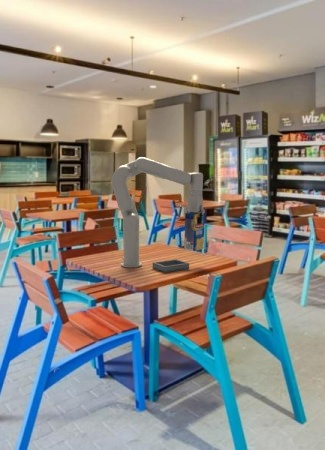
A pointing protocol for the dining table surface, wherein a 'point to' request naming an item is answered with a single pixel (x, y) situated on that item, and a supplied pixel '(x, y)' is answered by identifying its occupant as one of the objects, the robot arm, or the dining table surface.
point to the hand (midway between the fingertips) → (194, 222)
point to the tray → (170, 265)
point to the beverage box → (193, 232)
